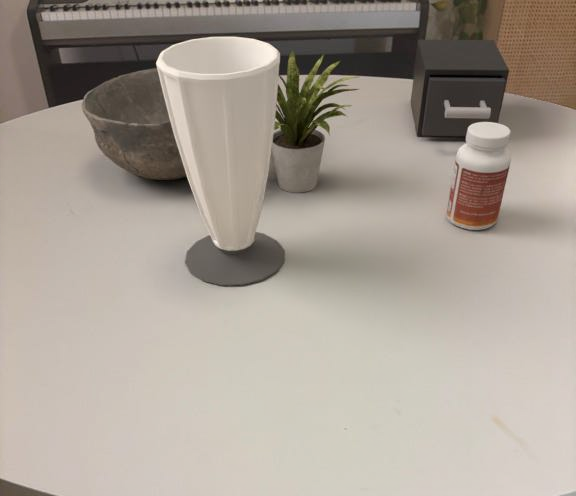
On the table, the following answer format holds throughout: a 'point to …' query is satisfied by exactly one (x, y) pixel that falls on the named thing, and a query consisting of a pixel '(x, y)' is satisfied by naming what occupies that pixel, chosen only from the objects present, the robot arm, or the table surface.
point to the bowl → (135, 125)
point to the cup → (225, 149)
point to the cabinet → (452, 68)
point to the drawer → (461, 103)
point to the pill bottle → (479, 176)
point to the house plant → (302, 127)
